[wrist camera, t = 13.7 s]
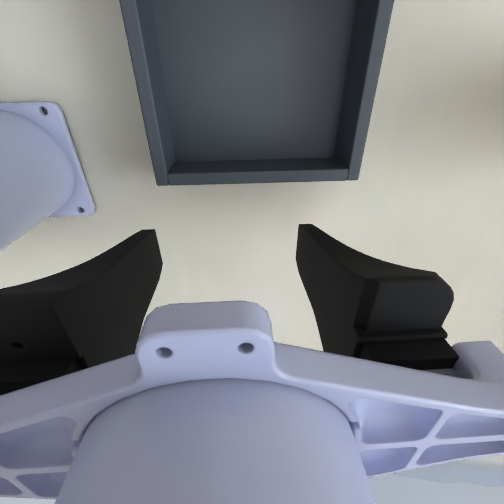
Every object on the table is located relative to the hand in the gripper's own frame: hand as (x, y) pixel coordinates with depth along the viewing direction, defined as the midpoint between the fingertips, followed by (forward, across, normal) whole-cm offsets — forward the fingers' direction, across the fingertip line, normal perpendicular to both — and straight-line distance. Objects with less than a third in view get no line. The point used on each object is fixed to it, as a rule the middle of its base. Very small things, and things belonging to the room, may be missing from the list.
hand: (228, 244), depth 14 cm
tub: (+9, -2, -8) cm, 13 cm away
